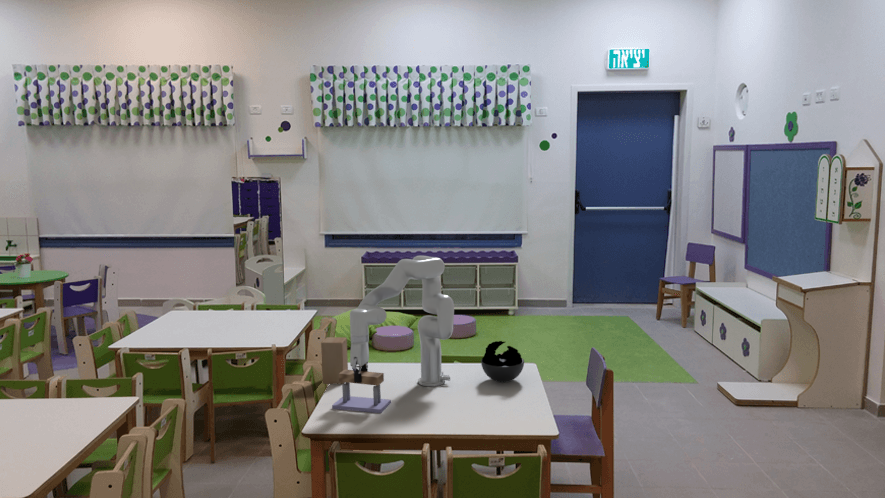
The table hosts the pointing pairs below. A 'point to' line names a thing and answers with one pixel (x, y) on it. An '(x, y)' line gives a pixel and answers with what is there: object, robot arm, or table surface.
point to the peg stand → (361, 401)
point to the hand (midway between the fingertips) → (361, 379)
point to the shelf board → (367, 377)
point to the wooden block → (333, 359)
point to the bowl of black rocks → (502, 363)
